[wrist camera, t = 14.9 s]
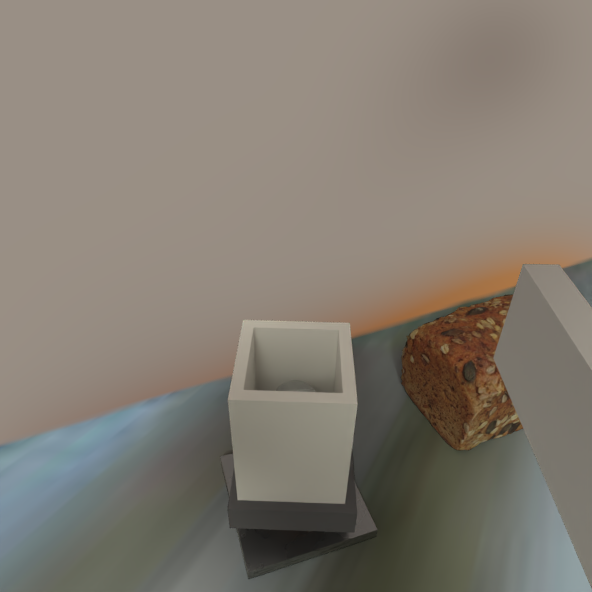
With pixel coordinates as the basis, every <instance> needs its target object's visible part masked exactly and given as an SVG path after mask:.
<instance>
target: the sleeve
mask: <svg viewBox="0 0 592 592" xmlns="http://www.w3.org/2000/svg"><path fill="white" fill-rule="evenodd" d="M293 380H298V381H303V382H306V383H308V384H309V385H311V386H312V387H313V388H314V390H315V392H293V391H276V389H277V388H278V387H279V386H280V385H281V384H283V383H285V382H288V381H293ZM357 405H358V403H357V392H356V382H355V372H354V362H353V351H352V341H351V331H350V323H334V322H333V323H332V322H301V321H267V320H243V324H242V329H241V335H240V339H239V345H238V350H237V355H236V360H235V365H234V370H233V375H232V381H231V386H230V391H229V396H228V407H229V417H230V427H231V438H232V448H233V458H234V468H235V479H236V489H237V499H238V500H248V501H276V502H304V503H333V504H345V500H346V492H347V484H348V476H349V468H350V460H351V452H352V444H353V437H354V429H355V421H356V413H357Z"/></svg>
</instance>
